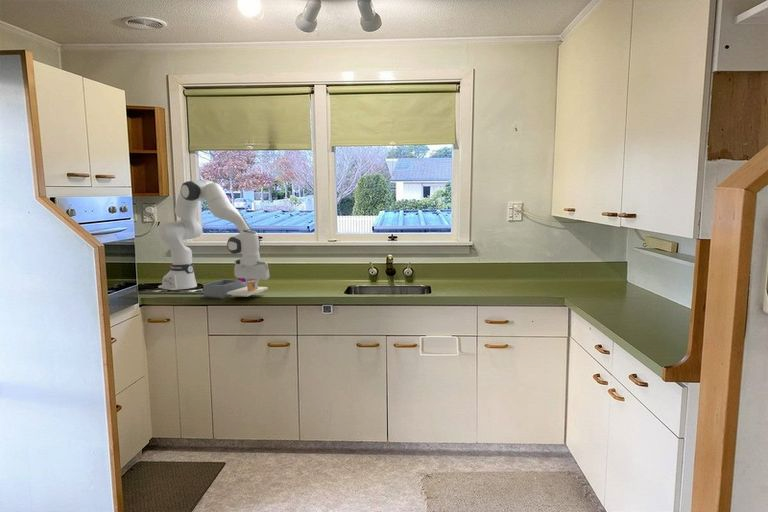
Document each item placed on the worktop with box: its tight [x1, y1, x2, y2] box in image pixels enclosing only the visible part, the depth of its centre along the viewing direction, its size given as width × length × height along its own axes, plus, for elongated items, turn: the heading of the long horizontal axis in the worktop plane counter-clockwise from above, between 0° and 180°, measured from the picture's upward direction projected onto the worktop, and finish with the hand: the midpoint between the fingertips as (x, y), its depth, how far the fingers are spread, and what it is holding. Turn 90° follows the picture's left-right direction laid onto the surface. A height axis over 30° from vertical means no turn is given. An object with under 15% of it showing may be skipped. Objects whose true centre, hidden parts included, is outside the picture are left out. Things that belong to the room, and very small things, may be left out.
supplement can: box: [237, 278, 254, 288], centre depth 294 cm, size 8×8×15 cm
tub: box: [202, 278, 243, 300], centre depth 268 cm, size 12×16×7 cm
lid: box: [227, 280, 269, 298], centre depth 262 cm, size 13×17×6 cm
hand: (252, 287), depth 260 cm, fingers closed on lid
